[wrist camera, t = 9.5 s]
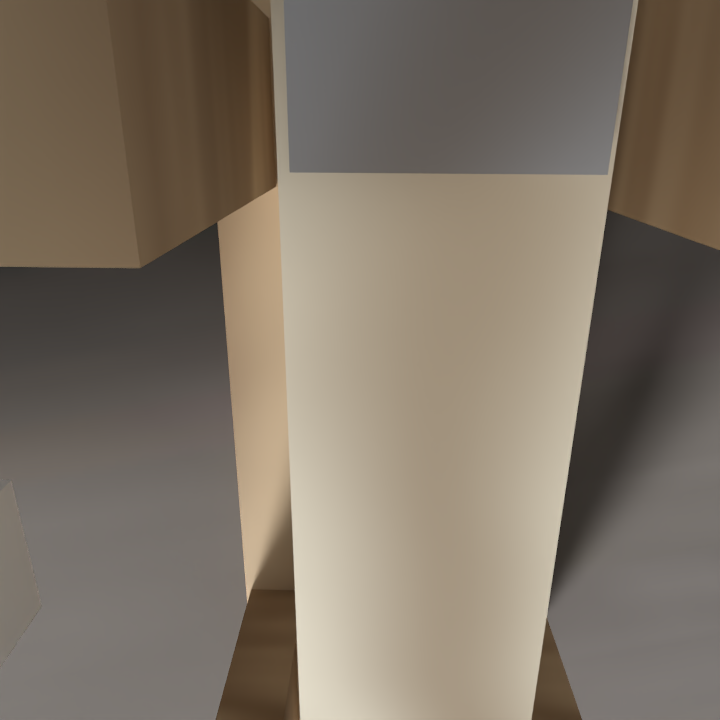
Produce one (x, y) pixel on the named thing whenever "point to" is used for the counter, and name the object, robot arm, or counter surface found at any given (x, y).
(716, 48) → the wooden stand
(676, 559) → the counter surface
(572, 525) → the counter surface
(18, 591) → the robot arm
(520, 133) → the rail
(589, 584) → the counter surface
